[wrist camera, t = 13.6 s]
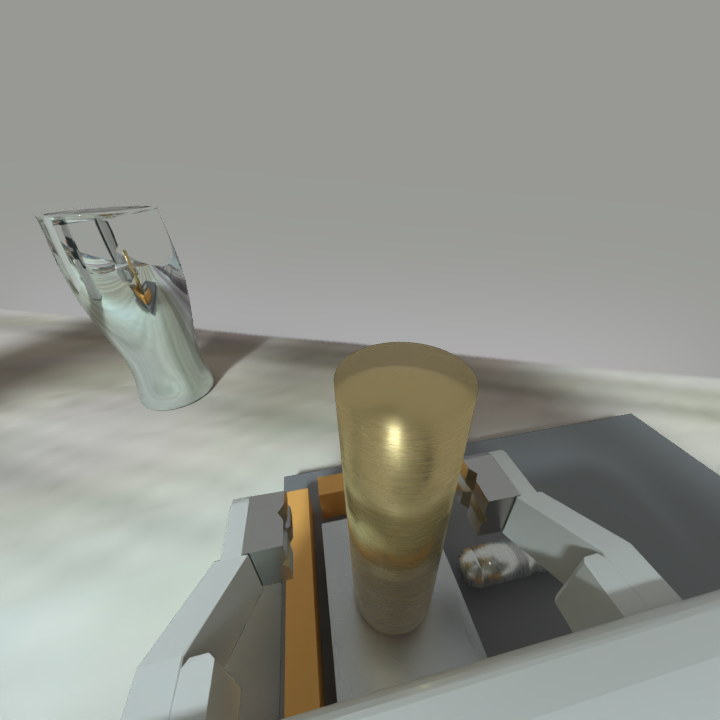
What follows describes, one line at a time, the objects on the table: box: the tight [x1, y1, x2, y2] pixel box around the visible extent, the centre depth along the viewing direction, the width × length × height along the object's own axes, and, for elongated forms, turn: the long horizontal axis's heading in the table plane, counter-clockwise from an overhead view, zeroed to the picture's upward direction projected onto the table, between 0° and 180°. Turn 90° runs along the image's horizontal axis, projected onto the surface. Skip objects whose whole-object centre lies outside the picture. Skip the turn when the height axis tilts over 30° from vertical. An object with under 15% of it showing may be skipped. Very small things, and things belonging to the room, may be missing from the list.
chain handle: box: [322, 342, 547, 702], centre depth 10 cm, size 12×6×11 cm, turn 101°
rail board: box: [279, 414, 720, 720], centre depth 13 cm, size 24×14×4 cm, turn 101°
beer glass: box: [35, 204, 214, 411], centre depth 24 cm, size 7×7×15 cm
